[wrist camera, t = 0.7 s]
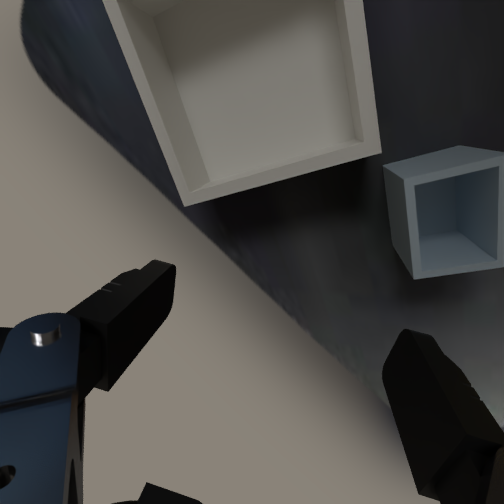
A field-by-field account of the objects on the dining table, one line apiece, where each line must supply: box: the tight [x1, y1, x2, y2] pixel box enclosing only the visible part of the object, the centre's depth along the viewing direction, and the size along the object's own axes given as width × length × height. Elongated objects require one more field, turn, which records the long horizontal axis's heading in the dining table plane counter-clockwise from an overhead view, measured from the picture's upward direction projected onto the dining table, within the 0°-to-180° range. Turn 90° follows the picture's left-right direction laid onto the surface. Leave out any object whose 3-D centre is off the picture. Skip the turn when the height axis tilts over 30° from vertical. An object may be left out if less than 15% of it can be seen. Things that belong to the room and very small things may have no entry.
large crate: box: [102, 0, 382, 207], centre depth 21 cm, size 16×16×6 cm
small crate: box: [382, 145, 504, 280], centre depth 22 cm, size 6×8×7 cm
